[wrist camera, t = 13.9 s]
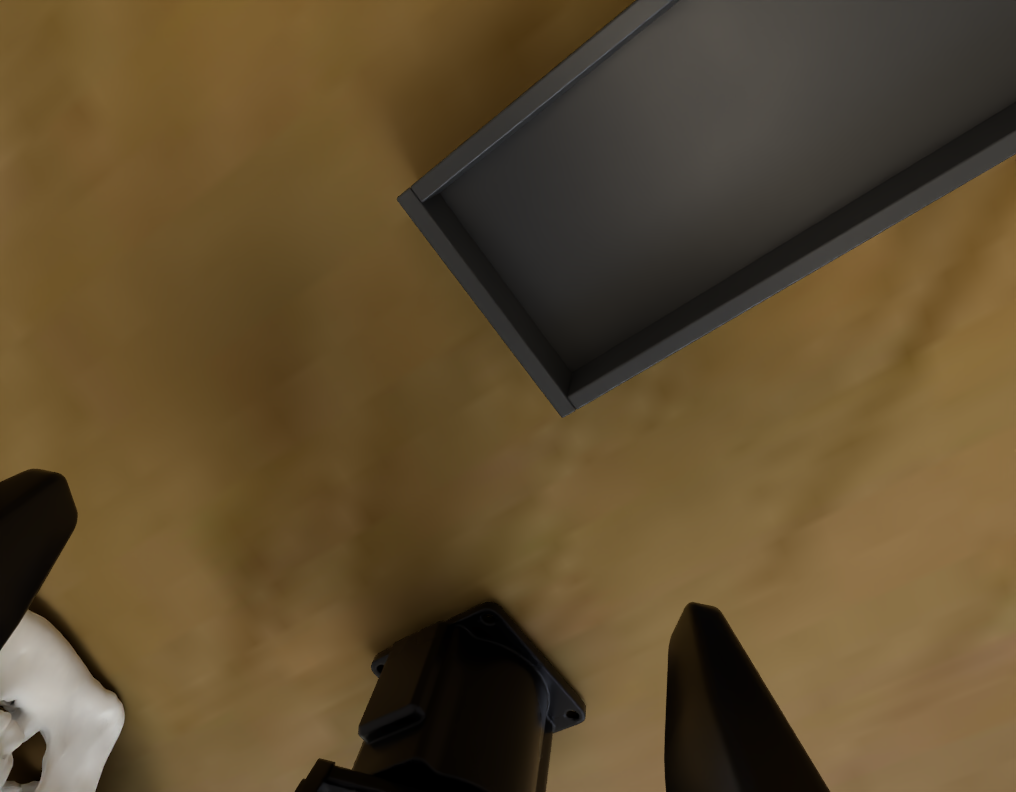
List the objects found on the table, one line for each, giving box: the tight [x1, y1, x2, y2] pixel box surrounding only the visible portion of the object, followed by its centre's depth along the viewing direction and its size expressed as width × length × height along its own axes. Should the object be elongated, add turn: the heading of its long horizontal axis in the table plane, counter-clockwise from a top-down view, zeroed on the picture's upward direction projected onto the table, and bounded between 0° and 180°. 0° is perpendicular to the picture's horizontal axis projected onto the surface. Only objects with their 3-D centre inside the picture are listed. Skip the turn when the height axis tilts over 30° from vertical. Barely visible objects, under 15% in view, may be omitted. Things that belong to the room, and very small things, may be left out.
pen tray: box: [397, 0, 1016, 418], centre depth 16 cm, size 16×8×2 cm, turn 127°
